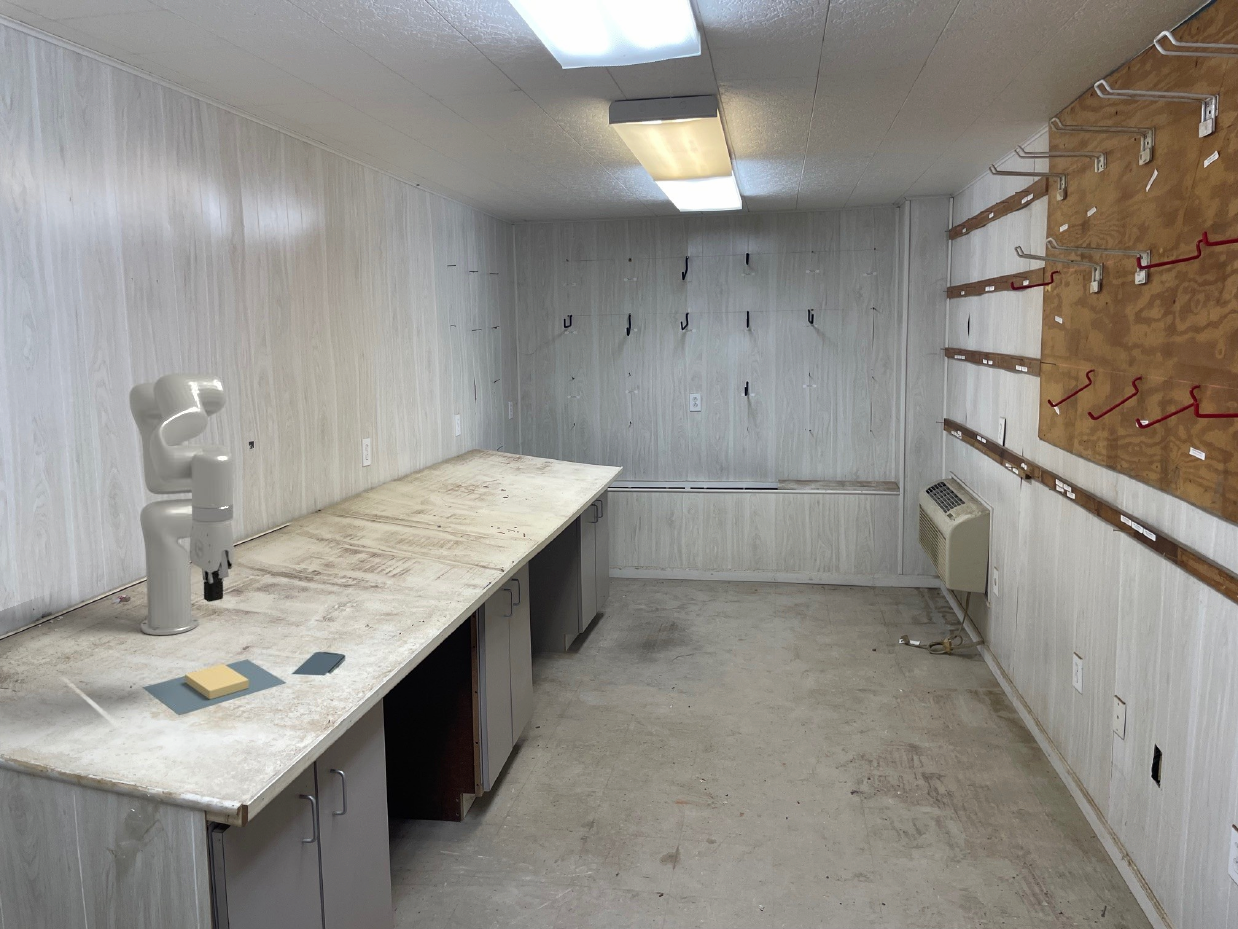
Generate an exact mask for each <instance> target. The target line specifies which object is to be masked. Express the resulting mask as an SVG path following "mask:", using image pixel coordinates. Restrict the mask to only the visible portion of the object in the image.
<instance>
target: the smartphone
mask: <svg viewBox="0 0 1238 929" xmlns="http://www.w3.org/2000/svg"><path fill="white" fill-rule="evenodd" d="M345 661H346V655H345V654H343V653H338V652H328V651H315V652H314V653H313V654H312V655H310V657H309V658H307V660H305V661H304V662H303V663H302V664H301V665H300V666H298V668H297V669H295V670H294V671H293V672H292V673H291V675H301V676H302V675H303V676H305V675H306V676H325V675H327V674H329V675H332V673H333V672H334V671H336V670H337V669H338V668H339V667H340V666H341V665H342V663H343V662H345Z"/></svg>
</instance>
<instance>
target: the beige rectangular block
mask: <svg viewBox="0 0 1238 929" xmlns="http://www.w3.org/2000/svg"><path fill="white" fill-rule="evenodd" d="M226 665H227V664H224V663H222V664H219V665H215V666H211V667H207V668H203V669H200V670H195V671H192V672H188V673H185V675H184V676H185V682H186V683H187V684H188V685H190V686H191V687H193V688H194V689H196V690H197V691H198V692H200V693H201V694H203V695H204V696H206V697H207V698H209V699H213V698H217V697H220V696H223V695H227V694H230V693H234V692H237V691H240V690H244V689H247V688H249V680H248V679H247V678H245V677H243V676H242V675H240V674H239V673H237V672H235V671H234V670H232V669H231V668H229V667H227V666H226Z"/></svg>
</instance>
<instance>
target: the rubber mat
mask: <svg viewBox="0 0 1238 929" xmlns="http://www.w3.org/2000/svg"><path fill="white" fill-rule="evenodd" d="M225 665H226V666H227V667H229V668H231V669H232V670H234V671H235V672H237V673H239V674H240V675H242V676H243V677H245V678H247V679H248V680H249V688H247V689H244V690H240V691H237V692H234V693H230V694H227V695H223V696H220V697H217V698H213V699H209V698H207V697H206V696H204V695H203V694H201V693H200V692H198V691H197V690H196V689H194V688H193V687H191V686H190V685H188V684H187V683H186V682H185V675H184V676H183V675H182V676H180V677H179V676H178V677H175V678H172V679H169V680H165V681H160V682H157V683H153V684H150V685H146V686H143V687H142V689H143V690H145V691H147V693H149V694H150V695H151V696H153V697H154V698H156V700H158V701H160V702H161V703H162V704H164V706H166V707H168V709H170V710H171V711H173V712H174V713H175V714H176V715H178V716H183V715H185V714H188V713H192V712H194V711H198V710H202V709H206V708H208V707H212V706H215V705H218V704H221V703H225V702H228V701H231V700H235V699H239V698H241V697H245V696H248V695H251V694H255V693H258V692H262V691H265V690H267V689H268V690H269V689H272V688H274V687H278V686H282V685H285V684H287V682H286V681H284V680H283V679H281V678H280V677H278V676H277V675H275V674H272V672H269V671H267V670H266V669H264V668H263V667H261V666H259V665H257V664H256V663H255V662H253V661H251V660H249V659H247V658H246V659H243V660H239V661H235V662H232V663H228V664H225Z"/></svg>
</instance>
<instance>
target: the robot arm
mask: <svg viewBox="0 0 1238 929" xmlns="http://www.w3.org/2000/svg"><path fill="white" fill-rule="evenodd" d="M128 399H129V409H130V411H131V412H130V413H131V415H132V417H133V420H134V422H135V424H136V427H137V428H138V432H139V433H140V436H141V441H142V442H141V444H142V446H141V447H142V459H143V461H142V462H143V473H144V474H143V475H144V482H145V486H146V489H147V490H148V492H149V493H151V494H154V495H179V494H191V498H179V499H178V498H177V499H176V498H175V499H164V500H163V499H162V500H157V501H152V502H150V503H148V504H146V505H145V506H144V507H142V508H141V511H140V515H139V518H140V519H139V521H140V526H141V527H140V528H141V531H142V536H143V543H144V550H145V567H146V570H145V572H146V574H145V575H146V599H147V600H146V601H147V603H146V604H147V607H146V608H147V619H145V620H144V621H142V622H141V623H140V630H141V631H142V633H145V634H148V635H154V636H168V635H169V636H171V635H176V634H181V633H185V632H186V633H187V632H189V631H191V630H194V629H195V628H196V627H198V625H199V622H200V620H199V618H198V617H197V616H196V615H194V614H192V579H191V578H192V575H191V574H192V573H191V568H192V567H191V563H192V564H193V565H194V566H196V567H197V568H200V569H201V572H202V574H201V575H202V576H201V577H202V580H203V600H205V601H206V602H208V603H210V602H215V601H219V600H223V598H224V581H225V578H229V576H230V575H229V570H232V569H233V567H234V563H235V562H234V560H235V548H234V533H233V526H232V525H233V524H232V521H233V520H234V463H233V462H234V460H233V456H232V452H230V451H229V449H228V447H226V446H224V445H222V444H214V443H213V444H212V443H211V444H210V443H209V444H183V443H185V442H188V441H191V440H192V439H194V438H196V437H198V436H200V435H201V434H203V433H204V431H205V430H206V428H207V426H208V423H209V418H208V417H211V416H213V415H215V414H217V413H218V412H220V411H221V410H222V409H223V408H224V406H225V404H226V401H227V391H226V387H225V385H224V383H223V381H222V380H221V379H220V377H218V376H217V375H215V374H211V373H170V374H169V373H168V374H166V375H165V374H164V375H163V376H161V377H159V378H158V379H157V380H156V381H152V382H151V381H150V382H143V383H138V384H136V385H134V386H133V387H132V388H131V389H130V392H129V398H128ZM183 539H189V551H188V550H187V549H186V548H185V547H184V546H183V545H182V544H181V543H179V540H183Z"/></svg>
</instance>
